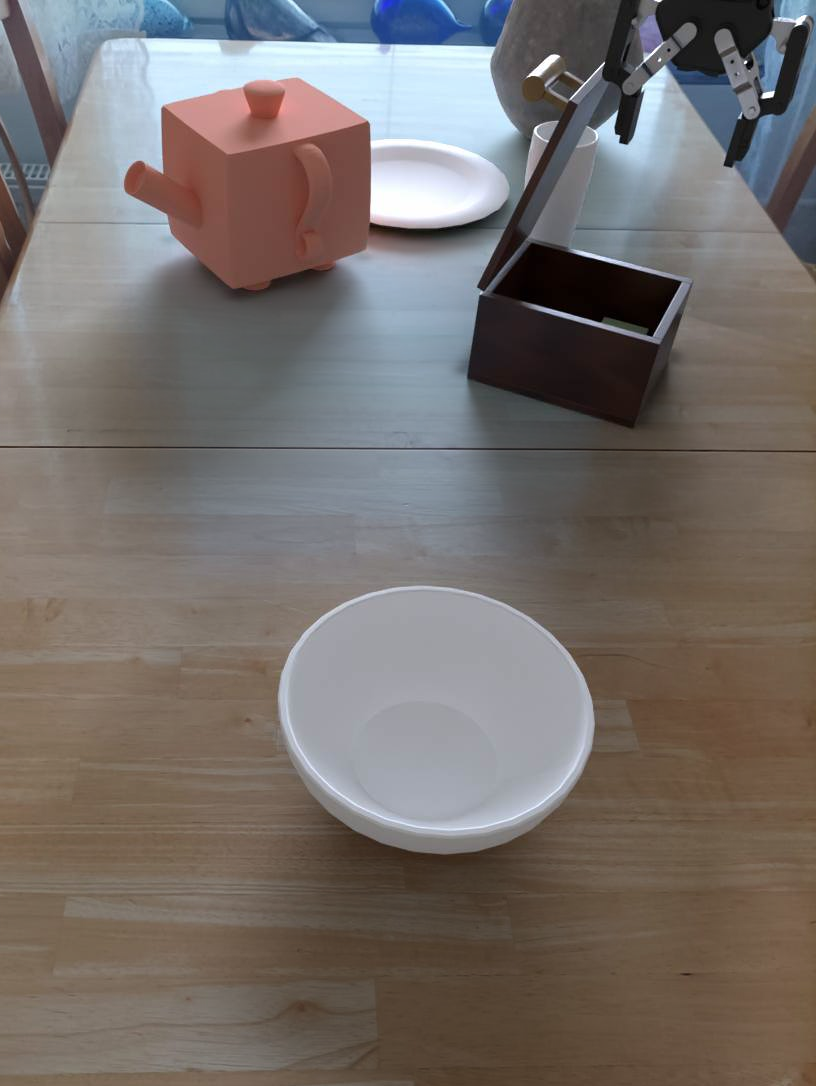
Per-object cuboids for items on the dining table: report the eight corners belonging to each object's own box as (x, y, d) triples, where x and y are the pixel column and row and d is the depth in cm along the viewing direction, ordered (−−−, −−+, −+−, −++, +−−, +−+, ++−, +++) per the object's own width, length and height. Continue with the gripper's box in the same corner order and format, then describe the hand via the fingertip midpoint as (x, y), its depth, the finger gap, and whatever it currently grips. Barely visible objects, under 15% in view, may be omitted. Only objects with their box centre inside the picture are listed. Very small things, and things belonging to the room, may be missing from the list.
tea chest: (667, 362, 98) (694, 279, 92) (633, 429, 91) (660, 344, 84) (511, 318, 103) (526, 236, 96) (466, 378, 95) (479, 294, 89)
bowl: (341, 621, 73) (345, 553, 68) (596, 700, 69) (622, 634, 64) (229, 831, 61) (223, 768, 56) (530, 943, 57) (555, 887, 52)
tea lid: (624, 54, 82) (570, 23, 82) (578, 104, 74) (519, 69, 74) (530, 234, 96) (484, 206, 96) (483, 292, 88) (434, 262, 88)
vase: (555, 177, 126) (601, -53, 107) (454, 127, 136) (479, -92, 117) (651, 141, 135) (709, -78, 116) (550, 97, 144) (588, -112, 125)
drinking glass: (503, 282, 108) (527, 141, 96) (514, 254, 112) (538, 116, 101) (563, 293, 107) (595, 151, 95) (572, 264, 111) (604, 125, 100)
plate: (268, 184, 122) (268, 171, 121) (409, 135, 133) (411, 122, 132) (407, 262, 110) (408, 247, 109) (549, 200, 121) (552, 187, 120)
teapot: (189, 342, 98) (171, 160, 84) (95, 248, 110) (67, 76, 97) (390, 279, 107) (403, 106, 94) (283, 199, 120) (281, 36, 106)
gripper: (627, -95, 66) (578, 151, 79) (844, -65, 62) (756, 190, 74) (656, -118, 71) (605, 118, 83) (860, -91, 67) (775, 154, 79)
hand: (677, 152), depth 79 cm, fingers open, 8 cm apart
